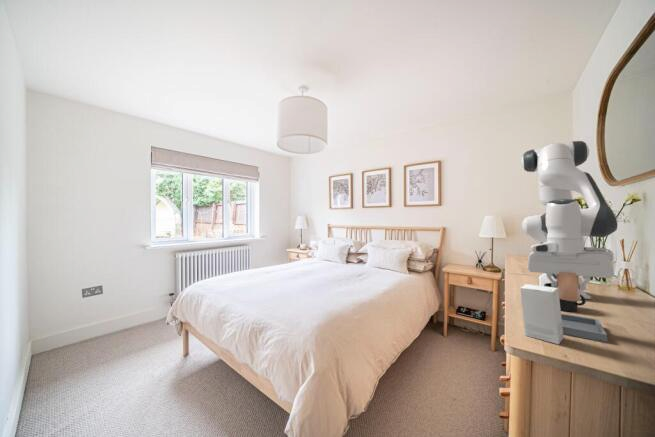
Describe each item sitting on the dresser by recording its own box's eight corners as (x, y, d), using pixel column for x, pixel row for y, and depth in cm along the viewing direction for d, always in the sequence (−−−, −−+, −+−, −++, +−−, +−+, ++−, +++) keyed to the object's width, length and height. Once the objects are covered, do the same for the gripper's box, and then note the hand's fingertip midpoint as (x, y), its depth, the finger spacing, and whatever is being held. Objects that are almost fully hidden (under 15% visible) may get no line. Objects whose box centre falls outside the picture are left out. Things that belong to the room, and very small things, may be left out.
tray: (542, 317, 88) (541, 310, 88) (598, 326, 79) (598, 319, 79) (542, 330, 78) (542, 322, 78) (607, 343, 69) (607, 334, 69)
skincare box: (564, 338, 72) (560, 287, 73) (558, 345, 68) (555, 292, 69) (529, 329, 79) (526, 283, 79) (522, 335, 75) (519, 286, 76)
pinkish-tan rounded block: (557, 295, 82) (555, 269, 83) (579, 298, 79) (577, 271, 79) (558, 299, 78) (556, 272, 79) (581, 302, 75) (579, 274, 75)
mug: (581, 315, 88) (579, 291, 88) (541, 306, 99) (539, 285, 99) (591, 310, 92) (589, 287, 93) (551, 302, 103) (549, 281, 103)
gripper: (610, 247, 75) (614, 290, 74) (526, 245, 88) (529, 282, 88) (615, 248, 70) (619, 295, 70) (525, 246, 84) (528, 285, 83)
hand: (568, 288), depth 79 cm, fingers closed on pinkish-tan rounded block, 5 cm apart
